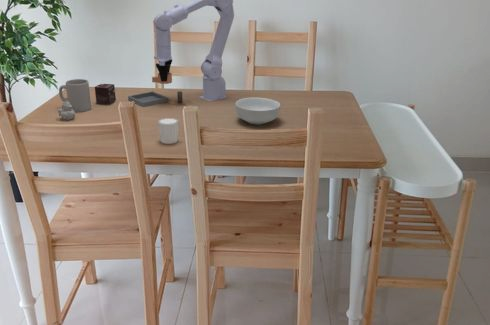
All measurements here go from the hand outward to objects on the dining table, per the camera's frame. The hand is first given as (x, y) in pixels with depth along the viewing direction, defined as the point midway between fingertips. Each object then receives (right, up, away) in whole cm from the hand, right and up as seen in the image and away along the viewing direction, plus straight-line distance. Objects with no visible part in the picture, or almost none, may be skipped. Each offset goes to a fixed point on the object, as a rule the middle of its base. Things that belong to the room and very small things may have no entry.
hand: (165, 79), depth 194 cm
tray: (-8, -9, +5) cm, 12 cm away
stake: (+6, -9, +4) cm, 12 cm away
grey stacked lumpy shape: (-34, -18, -17) cm, 42 cm away
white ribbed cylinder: (+7, -27, -34) cm, 44 cm away
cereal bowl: (+37, -19, -14) cm, 44 cm away
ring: (-1, -1, 0) cm, 2 cm away
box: (-25, -9, +3) cm, 27 cm away
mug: (-34, -13, -5) cm, 37 cm away
